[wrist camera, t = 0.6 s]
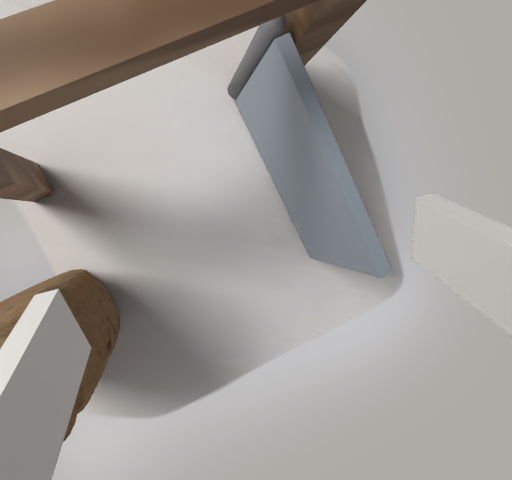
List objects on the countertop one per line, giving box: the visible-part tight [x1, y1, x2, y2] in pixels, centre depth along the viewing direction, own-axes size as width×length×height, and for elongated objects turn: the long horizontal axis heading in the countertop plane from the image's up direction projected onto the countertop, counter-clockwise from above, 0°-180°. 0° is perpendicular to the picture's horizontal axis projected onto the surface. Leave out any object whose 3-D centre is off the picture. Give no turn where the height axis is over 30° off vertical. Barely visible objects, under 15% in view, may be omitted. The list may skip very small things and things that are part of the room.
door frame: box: [0, 0, 366, 202], centre depth 24 cm, size 3×28×20 cm, turn 118°
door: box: [228, 15, 392, 278], centre depth 31 cm, size 21×3×13 cm, turn 28°
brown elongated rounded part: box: [0, 269, 120, 441], centre depth 23 cm, size 11×8×20 cm
